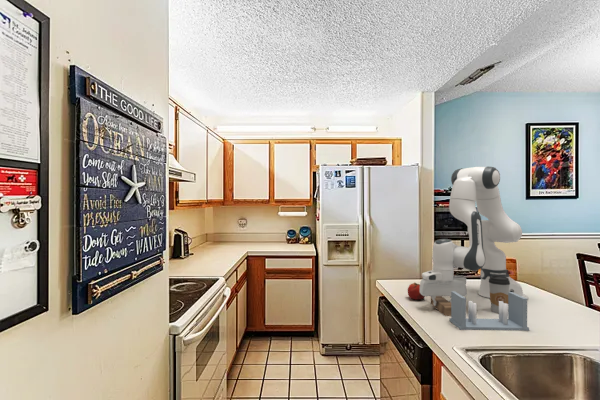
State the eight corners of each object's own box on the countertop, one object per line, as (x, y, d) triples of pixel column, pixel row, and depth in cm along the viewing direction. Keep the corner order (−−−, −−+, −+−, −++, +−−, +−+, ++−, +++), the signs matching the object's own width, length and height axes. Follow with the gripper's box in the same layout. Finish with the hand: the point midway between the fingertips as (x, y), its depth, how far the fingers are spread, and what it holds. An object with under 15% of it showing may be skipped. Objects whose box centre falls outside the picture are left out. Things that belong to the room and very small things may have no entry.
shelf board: (430, 304, 167) (430, 295, 167) (441, 304, 167) (441, 295, 167) (445, 316, 149) (445, 307, 149) (457, 316, 149) (457, 307, 149)
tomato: (418, 296, 180) (418, 280, 180) (430, 301, 172) (430, 284, 172) (403, 297, 178) (403, 281, 178) (414, 302, 169) (414, 286, 169)
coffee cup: (490, 313, 153) (490, 278, 153) (487, 307, 161) (487, 275, 161) (511, 315, 150) (512, 280, 150) (507, 309, 158) (507, 276, 158)
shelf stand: (513, 321, 143) (513, 292, 143) (529, 330, 133) (529, 298, 133) (449, 320, 144) (449, 291, 144) (459, 329, 134) (459, 298, 134)
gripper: (463, 273, 161) (463, 303, 161) (418, 273, 162) (418, 303, 162) (469, 276, 155) (469, 308, 155) (422, 276, 156) (422, 307, 156)
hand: (442, 305), depth 158 cm, fingers closed on shelf board, 5 cm apart
